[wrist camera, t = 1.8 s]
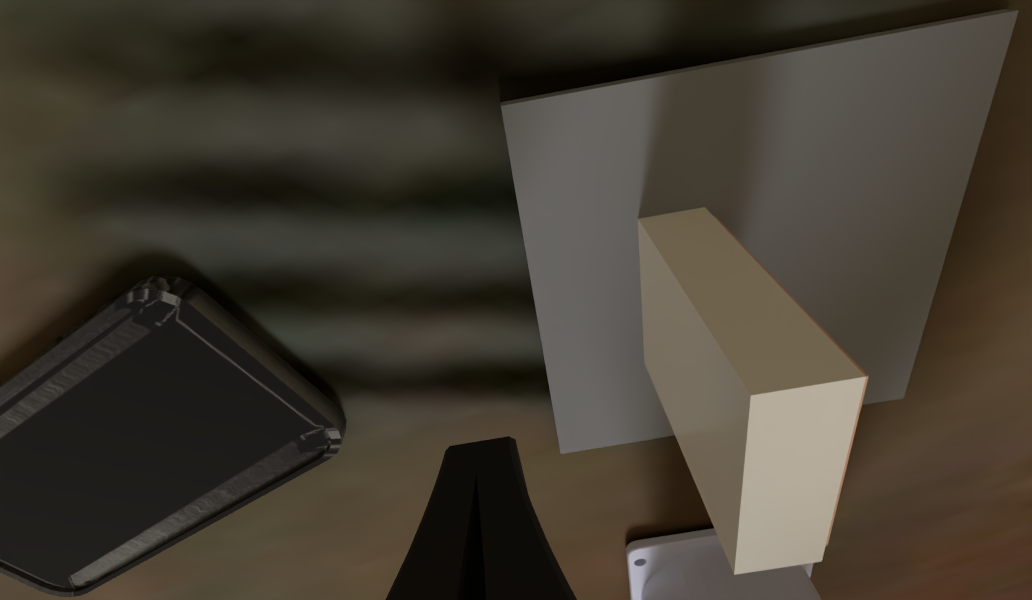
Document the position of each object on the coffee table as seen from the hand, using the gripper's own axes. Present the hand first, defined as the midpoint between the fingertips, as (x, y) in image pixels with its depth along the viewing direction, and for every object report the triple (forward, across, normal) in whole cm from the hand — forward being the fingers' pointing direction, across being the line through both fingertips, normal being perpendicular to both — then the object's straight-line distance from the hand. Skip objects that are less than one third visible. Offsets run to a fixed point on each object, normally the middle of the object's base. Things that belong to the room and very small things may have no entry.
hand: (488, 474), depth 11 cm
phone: (+7, +14, +3) cm, 15 cm away
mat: (+6, -8, 0) cm, 10 cm away
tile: (+6, -6, 0) cm, 8 cm away
